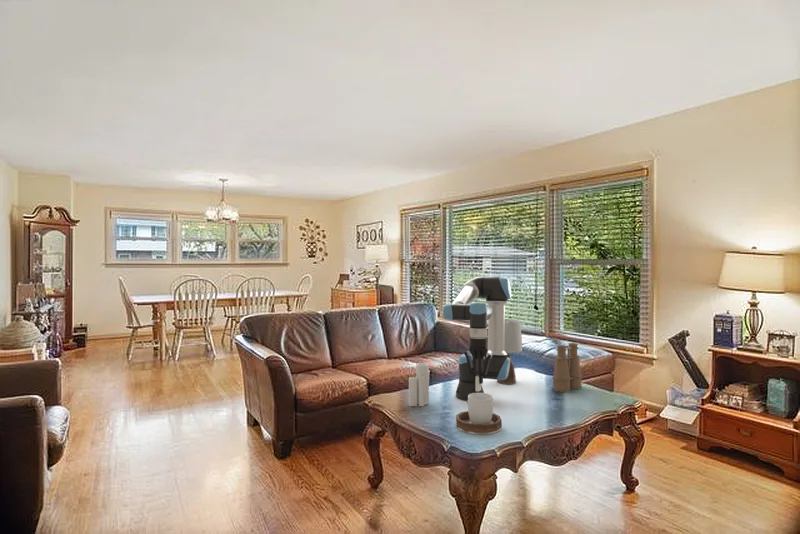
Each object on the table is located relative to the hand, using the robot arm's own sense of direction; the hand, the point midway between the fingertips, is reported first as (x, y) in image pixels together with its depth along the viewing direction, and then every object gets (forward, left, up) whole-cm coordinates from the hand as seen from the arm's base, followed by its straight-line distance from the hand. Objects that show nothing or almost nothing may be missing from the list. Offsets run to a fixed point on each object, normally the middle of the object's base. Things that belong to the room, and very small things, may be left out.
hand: (478, 390), depth 208 cm
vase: (-38, +13, -16) cm, 43 cm away
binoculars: (+18, +84, -16) cm, 88 cm away
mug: (0, 0, -15) cm, 15 cm away
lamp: (-16, +78, -16) cm, 81 cm away
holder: (0, 0, -16) cm, 16 cm away
